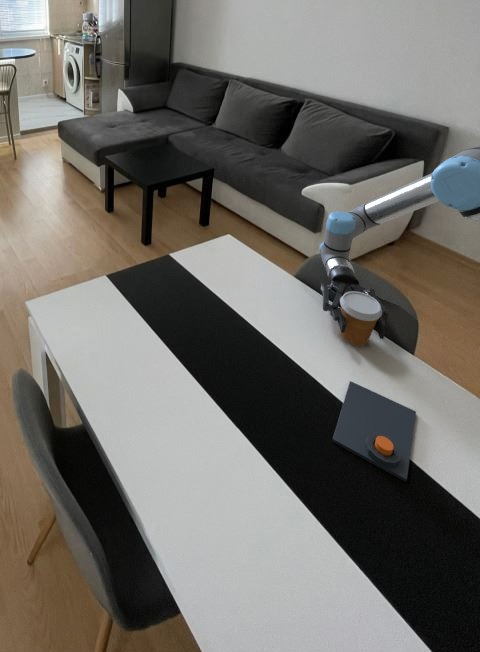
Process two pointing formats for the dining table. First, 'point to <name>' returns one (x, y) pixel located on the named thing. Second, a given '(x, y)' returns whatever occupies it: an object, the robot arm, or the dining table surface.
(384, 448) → the button
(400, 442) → the scale
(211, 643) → the dining table surface
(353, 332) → the disposable coffee cup
